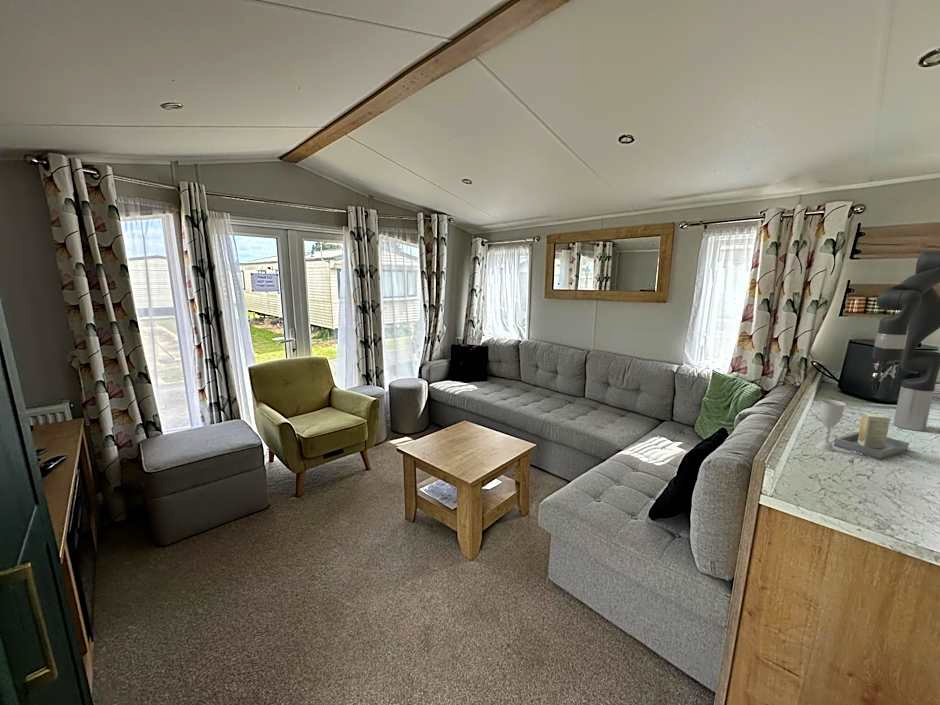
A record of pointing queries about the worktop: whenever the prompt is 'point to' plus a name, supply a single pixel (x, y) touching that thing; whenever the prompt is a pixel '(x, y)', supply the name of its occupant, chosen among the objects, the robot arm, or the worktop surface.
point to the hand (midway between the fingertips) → (880, 389)
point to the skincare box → (873, 430)
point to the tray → (890, 448)
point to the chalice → (830, 420)
